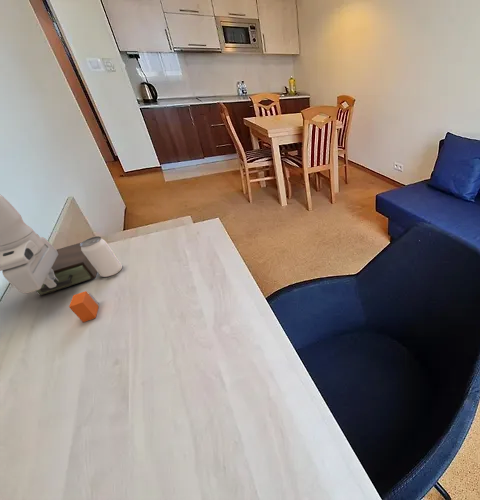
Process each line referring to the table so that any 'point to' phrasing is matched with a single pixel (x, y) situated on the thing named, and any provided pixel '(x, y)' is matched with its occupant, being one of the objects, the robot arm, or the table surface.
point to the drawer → (67, 278)
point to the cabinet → (72, 261)
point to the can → (101, 256)
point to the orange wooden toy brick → (84, 306)
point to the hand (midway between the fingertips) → (54, 284)
